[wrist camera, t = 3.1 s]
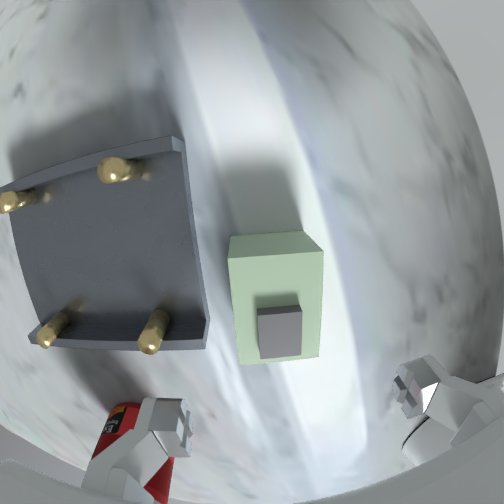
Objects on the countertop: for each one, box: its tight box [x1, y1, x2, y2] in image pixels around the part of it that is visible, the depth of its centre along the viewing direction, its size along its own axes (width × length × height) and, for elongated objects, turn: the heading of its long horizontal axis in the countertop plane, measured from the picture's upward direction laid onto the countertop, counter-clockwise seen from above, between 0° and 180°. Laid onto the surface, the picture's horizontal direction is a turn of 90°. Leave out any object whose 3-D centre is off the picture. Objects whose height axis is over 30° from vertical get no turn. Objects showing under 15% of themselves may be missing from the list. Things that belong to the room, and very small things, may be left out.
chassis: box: [0, 136, 210, 355], centre depth 16 cm, size 16×13×5 cm
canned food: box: [90, 403, 174, 504], centre depth 19 cm, size 8×8×11 cm
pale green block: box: [228, 231, 323, 365], centre depth 17 cm, size 5×7×6 cm
